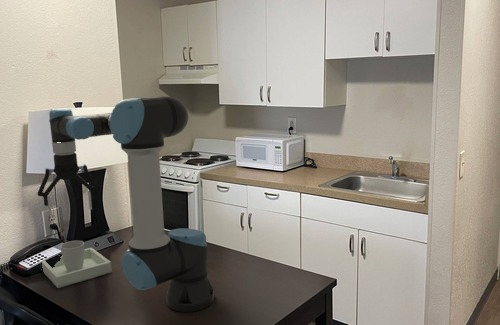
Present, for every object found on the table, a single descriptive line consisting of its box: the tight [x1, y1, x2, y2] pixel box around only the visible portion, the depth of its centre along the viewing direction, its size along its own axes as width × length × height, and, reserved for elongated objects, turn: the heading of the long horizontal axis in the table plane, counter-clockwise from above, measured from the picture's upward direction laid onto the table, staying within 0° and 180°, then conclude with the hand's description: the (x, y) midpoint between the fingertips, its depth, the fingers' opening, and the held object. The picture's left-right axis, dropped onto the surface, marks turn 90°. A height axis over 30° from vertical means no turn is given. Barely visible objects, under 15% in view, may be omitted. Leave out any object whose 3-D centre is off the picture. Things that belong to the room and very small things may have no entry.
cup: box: [60, 240, 85, 273], centre depth 168 cm, size 8×8×10 cm
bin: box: [40, 247, 113, 289], centre depth 169 cm, size 19×19×4 cm
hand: (70, 211), depth 165 cm, fingers open, 13 cm apart
